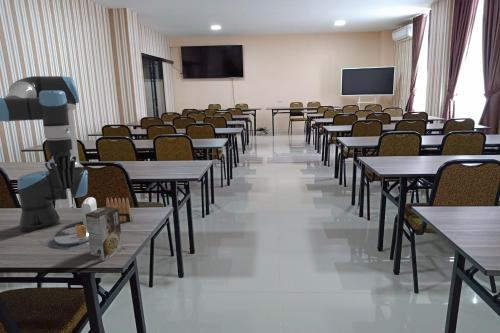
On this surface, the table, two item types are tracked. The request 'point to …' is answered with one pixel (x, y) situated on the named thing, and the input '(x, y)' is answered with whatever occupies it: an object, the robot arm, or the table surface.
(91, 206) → the photo printer
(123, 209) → the ammunition clip
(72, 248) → the panel
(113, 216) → the coffee box
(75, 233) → the dial
